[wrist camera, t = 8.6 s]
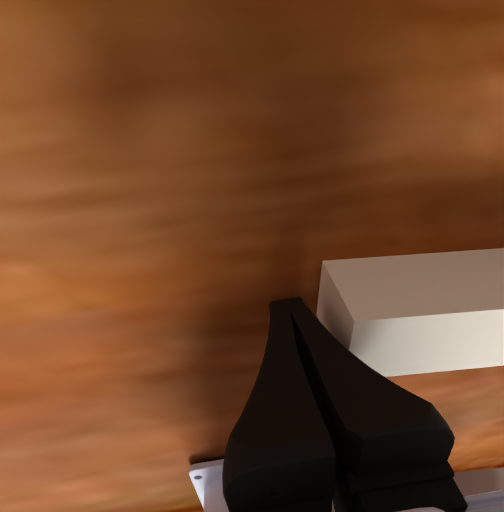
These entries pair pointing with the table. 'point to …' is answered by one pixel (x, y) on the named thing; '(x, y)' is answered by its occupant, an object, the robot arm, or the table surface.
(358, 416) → the robot arm
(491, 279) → the slat
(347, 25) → the table surface
